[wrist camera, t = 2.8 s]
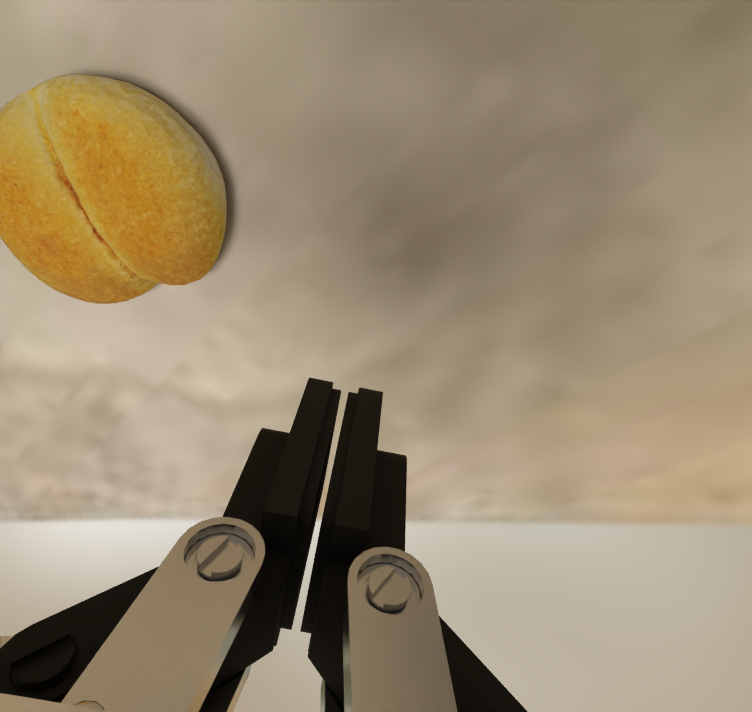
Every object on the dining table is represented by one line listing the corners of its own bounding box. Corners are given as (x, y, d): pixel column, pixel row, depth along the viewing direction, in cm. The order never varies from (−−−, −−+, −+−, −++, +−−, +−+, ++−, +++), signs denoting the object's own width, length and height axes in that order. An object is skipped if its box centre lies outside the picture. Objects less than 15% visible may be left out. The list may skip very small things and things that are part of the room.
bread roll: (264, 254, 22) (235, 291, 19) (88, 301, 24) (32, 343, 20) (175, 37, 18) (117, 33, 15) (-27, 113, 20) (-120, 126, 17)
